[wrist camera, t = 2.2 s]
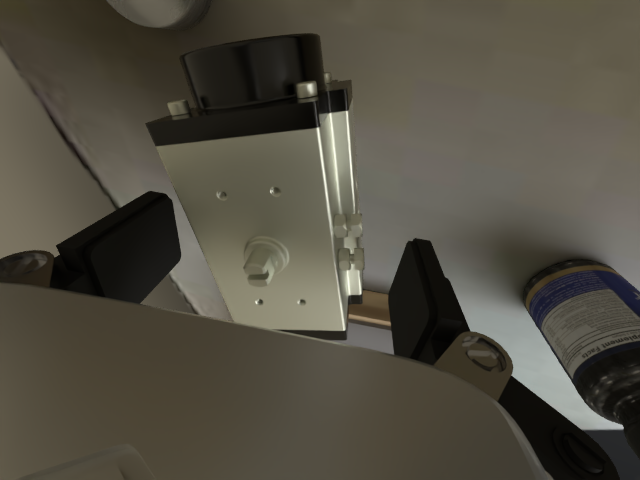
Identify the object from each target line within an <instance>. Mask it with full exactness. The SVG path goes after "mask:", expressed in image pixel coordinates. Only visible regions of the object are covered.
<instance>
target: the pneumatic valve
mask: <svg viewBox="0 0 640 480" xmlns="http://www.w3.org/2000/svg"><path fill="white" fill-rule="evenodd" d="M180 62H181V65H182V68H183V71H184V73H185V76H186V79H187V82H188V85H189V88H190V91H191V94H192V97H193V100H194V103H195V106H196V107H195V108H191V109H190V107H189V104H188V102H187V100H178V101H173V102H169V103H167V105H168V108H169V110H170V113H171V115H170V116H167V117H164V118H160V119H157V120H154V121H151V122H148V123H145V124H146V126H147V128H148V131H149V133H150V135H151V137H152V140H153V142H154V144H155V146H156V149H157V151H158V153H159V155H160V158H161V160H162V162H163V164H164V166H165V169H166V171H167V173H168V175H169V178H170V180H171V182H172V184H173V187H174V189H175V191H176V193H177V196H178V198H179V200H180V202H181V205H182V207H183V209H184V211H185V214H186V216H187V218H188V220H189V223H190V225H191V227H192V229H193V231H194V234H195V236H196V238H197V240H198V243H199V245H200V247H201V249H202V252H203V254H204V256H205V258H206V261H207V263H208V265H209V267H210V270H211V272H212V274H213V276H214V279H215V281H216V283H217V285H218V288H219V290H220V292H221V294H222V296H223V299H224V301H225V303H226V305H227V308H228V310H229V312H230V314H231V317H232V319H233V321H234V322H237V323H242V324H247V325H252V326H257V327H263V328H268V329H273V330H278V331H283V332H288V333H293V334H298V335H303V336H308V337H313V338H318V339H323V340H343V341H345V340H347V334H348V318H349V305H351V304H362V303H363V270H364V248H362V238H361V237H362V214H361V213H360V207H359V191H358V176H357V160H356V144H355V129H354V113H353V97H352V82H351V80H346V81H339V82H338V80H332V81H331V73H330V72H327V73H324V69H323V60H322V51H321V41H320V36H319V35H318V34H313V33H305V34H290V35H280V36H272V37H264V38H257V39H250V40H243V41H237V42H231V43H225V44H220V45H215V46H210V47H205V48H201V49H196V50H193V51H189V52H186V53H183V54H182V55H181V56H180Z"/></svg>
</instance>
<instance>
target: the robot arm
mask: <svg viewBox="0 0 640 480" xmlns="http://www.w3.org/2000/svg"><path fill="white" fill-rule="evenodd" d="M56 247H57V249H58V251H59V253H60V255H58V256H57V257H55V258H54V256H53V254H51V253H50V252H47V251H41V250H32V251H24V252H19V253H15V254H12V255H9V256H6V257H3V258H1V259H0V480H620V478H619V475H618V473H617V470H616V467H615V466H614V464H613V462H612V461H611V459H610V458H609V456H608V455H607V454H606V452H605V451H604V450H603V449H602V448H601V447H600V446H599V444H598V443H597V442H595V441H594V440H593V439H592V438H591V437H590V436H589V435H587V434H586V433H585V432H584V431H582V430H581V429H580V428H578V427H577V426H576V425H575V424H573V423H572V422H571V421H569V420H568V419H567V418H566V417H564V416H563V415H562V414H560V413H559V412H558V411H556V410H555V409H554V408H553V407H551V406H550V405H549V404H547V403H546V402H545V401H544V400H542V399H541V398H540V397H538V396H537V395H536V394H534V393H533V392H532V391H531V390H529V389H528V388H527V387H525V386H524V385H523V384H522V383H520V382H519V381H518V380H516V379H515V378H514V377H512V376H511V374H512V371H513V364H512V360H511V358H510V357H509V355H508V353H507V352H506V351H505V350H504V349H503V348H502V346H501V345H499V344H498V343H497V342H495V341H494V340H493V339H491V338H489V337H487V336H486V335H483V334H480V333H477V332H471V331H470V329H469V327H468V324H467V322H466V319H465V317H464V315H463V312H462V310H461V307H460V305H459V302H458V300H457V298H456V295H455V293H454V290H453V288H452V285H451V283H450V281H449V279H447V278H445V276H444V274H443V271H442V269H441V266H440V264H439V261H438V259H437V256H436V254H435V251H434V249H433V246H432V243H431V242H430V241H428V240H423V239H417V238H415V239H413V241H408V242H407V244H406V247H405V250H404V253H403V255H402V258H401V261H400V264H399V266H398V269H397V272H396V275H395V278H394V280H393V283H392V286H391V289H390V291H389V295H388V305H389V314H390V323H391V332H392V340H393V349H394V355H393V354H389V353H385V352H380V351H376V350H372V349H367V348H362V347H357V346H352V345H347V344H343V343H338V342H333V341H328V340H323V339H318V338H313V337H308V336H303V335H298V334H293V333H288V332H283V331H278V330H273V329H268V328H263V327H257V326H252V325H247V324H242V323H237V322H232V321H226V320H221V319H216V318H211V317H206V316H201V315H195V314H190V313H185V312H179V311H174V310H169V309H164V308H158V307H153V306H148V305H143V304H140V303H141V302H142V301H143V300H144V298H146V297H147V295H148V294H149V293H150V292H151V291H152V290H153V289H154V288H155V287H156V286H157V285H158V284H159V283H160V282H161V280H162V279H163V278H164V277H165V276H166V275H167V274H168V273H169V272H170V271H171V270H172V269H173V268H174V267H175V266H176V264H177V263H178V262H179V261H180V258H181V250H180V244H179V238H178V232H177V226H176V220H175V214H174V209H173V203H172V200H171V199H170V198H169V197H168V196H167V195H166V194H164V193H159V192H153V191H149V192H147V193H145V194H143V195H141V196H140V197H138V198H136V199H135V200H133V201H131V202H130V203H128V204H126V205H124V206H123V207H121V208H119V209H118V210H116V211H114V212H113V213H111V214H109V215H107V216H106V217H104V218H102V219H101V220H99V221H97V222H95V223H94V224H92V225H90V226H89V227H87V228H85V229H83V230H82V231H80V232H78V233H77V234H75V235H73V236H72V237H70V238H68V239H66V240H65V241H63V242H61V243H60V244H58V245H56Z"/></svg>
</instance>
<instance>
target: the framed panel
mask: <svg viewBox="0 0 640 480" xmlns="http://www.w3.org/2000/svg"><path fill="white" fill-rule="evenodd" d="M328 341H333V342H338V343H343V344H347V345H352V346H357V347H362V348H367V349H372V350H376V351H380V352H385V353H389V354H393V355H394V349H393V340H392V332H391V323H390V314H389V305H388V294H383V293H377V292H372V291H367V290H363V303H362V304H351V305H349V318H348V334H347V340H345V341H343V340H328Z"/></svg>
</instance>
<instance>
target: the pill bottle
mask: <svg viewBox="0 0 640 480" xmlns="http://www.w3.org/2000/svg"><path fill="white" fill-rule="evenodd" d="M523 300H524V304H525V307H526V309H527V311H528V313H529V314H530V316H531V317H532V319H533V321H534V322H535V324H536V326H537V327H538V329H539V330H540V332H541V333H542V335H543V337H544V338H545V340H546V342H547V343H548V345H549V346H550V348H551V350H552V351H553V353H554V354H555V356H556V357H557V359H558V361H559V363H560V364H561V366H562V367H563V369H564V370H565V372H566V373H567V375H568V376H569V378H570V379H571V381H572V383H573V384H574V386H575V388H576V390H577V392H578V393H579V395H580V396H581V397H582V399H583V400H584V402H585V403H586V404H587V405H588V406H589V408H591V409H592V410H593V411H594V412H596V413H597V414H598V415H600V416H602V417H604V418H605V419H607V420H610V421H612V422H615V423H618V424H622V425H623V426H624V429H623V430H624V433H625V437H626V439H627V442H628V444H629V446H630V447H631V448H632V450H633V451H634V452H635V454H636V455H637V456H638V458H639V459H640V292H639V291H638V290H637V289H636V288H635V287H634V286H632V285H631V284H630V283H629V282H628V281H627V280H625V279H624V278H623V277H622V276H621V275H620V274H618V273H617V272H616V271H615V270H614V269H613V268H611V267H609V266H607V265H605V264H602V263H595V262H593V261H589V260H574V261H568V262H563V263H560V264H558V265H556V266H552V267H550V268H547V269H546V270H544V271H542V272H541V273H539V274H538V275H536V276H535V277H534V278H533V279H532V280H531V281H530V282H529V283H528V285H527V286H526V288H525V290H524V295H523Z"/></svg>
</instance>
